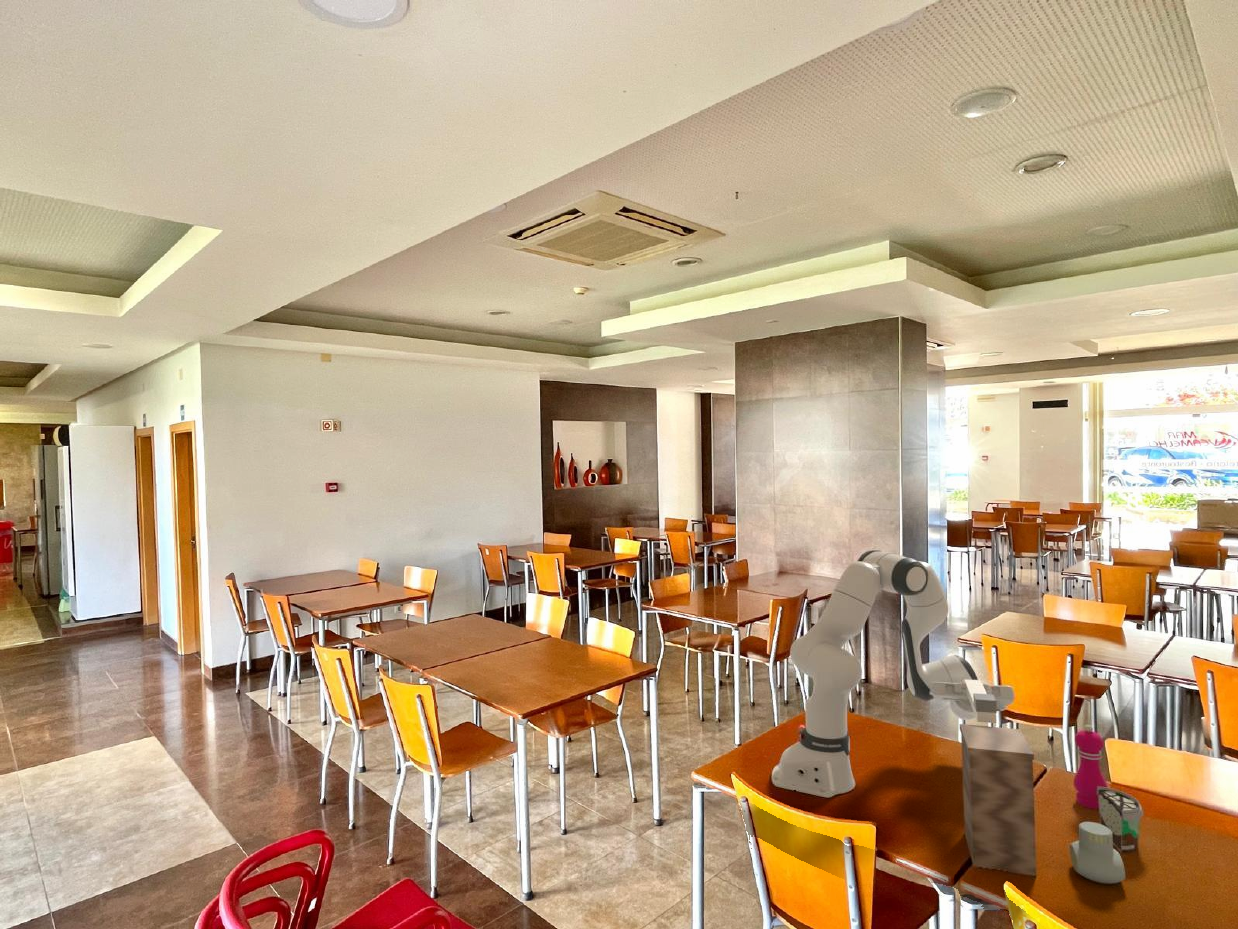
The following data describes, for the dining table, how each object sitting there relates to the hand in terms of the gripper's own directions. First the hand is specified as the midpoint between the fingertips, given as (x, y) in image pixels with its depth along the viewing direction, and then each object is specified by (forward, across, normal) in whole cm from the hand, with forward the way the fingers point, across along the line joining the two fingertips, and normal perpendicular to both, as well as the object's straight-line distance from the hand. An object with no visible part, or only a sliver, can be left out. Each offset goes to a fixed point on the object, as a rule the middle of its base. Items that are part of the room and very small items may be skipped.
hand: (974, 686), depth 182 cm
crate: (+12, 0, +39) cm, 41 cm away
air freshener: (+15, +18, +41) cm, 47 cm away
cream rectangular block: (+6, 0, +6) cm, 8 cm away
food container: (+1, +28, +34) cm, 43 cm away
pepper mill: (-15, +26, +25) cm, 38 cm away
